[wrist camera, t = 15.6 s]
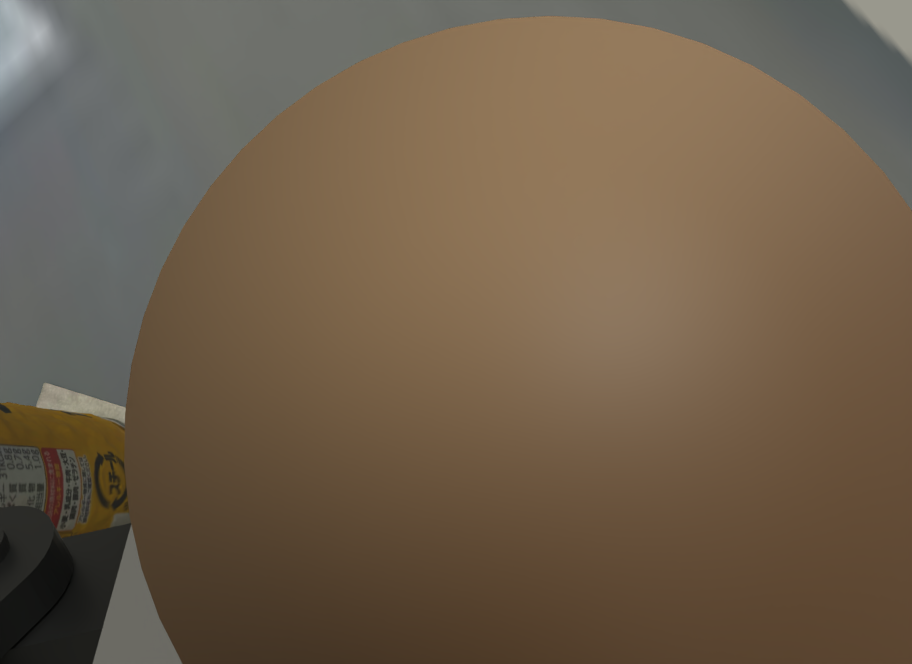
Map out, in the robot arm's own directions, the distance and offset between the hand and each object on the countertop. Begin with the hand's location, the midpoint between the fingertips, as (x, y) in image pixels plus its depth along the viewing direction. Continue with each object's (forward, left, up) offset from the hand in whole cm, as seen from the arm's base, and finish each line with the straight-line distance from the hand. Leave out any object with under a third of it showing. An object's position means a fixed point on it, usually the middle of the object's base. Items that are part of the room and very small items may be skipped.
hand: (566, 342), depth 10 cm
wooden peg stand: (+1, -1, -5) cm, 5 cm away
